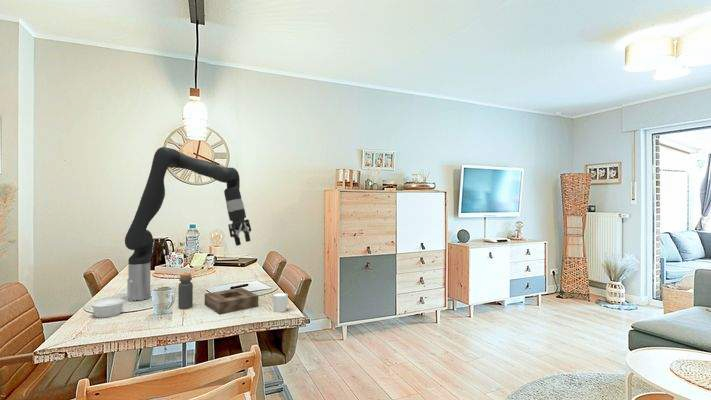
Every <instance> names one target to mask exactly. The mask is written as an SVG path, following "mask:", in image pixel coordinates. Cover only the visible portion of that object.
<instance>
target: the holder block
mask: <svg viewBox="0 0 711 400" xmlns="http://www.w3.org/2000/svg"><path fill="white" fill-rule="evenodd" d="M203 302H204V305H205V306H206V308H207V307H208V308H209V309H210V310H212V311H214V312H215V313H216V314H218V315H223V314H227V313H232V312H238V311H243V310H249V309H253V308H257V307H259V295H258V294H256V293H254V292H252V291H250V290H248V289H246V288H243V287H239V288H238V287H237V288H232V289H225V290H219V291H213V292H207V293H204V301H203Z"/></svg>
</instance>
